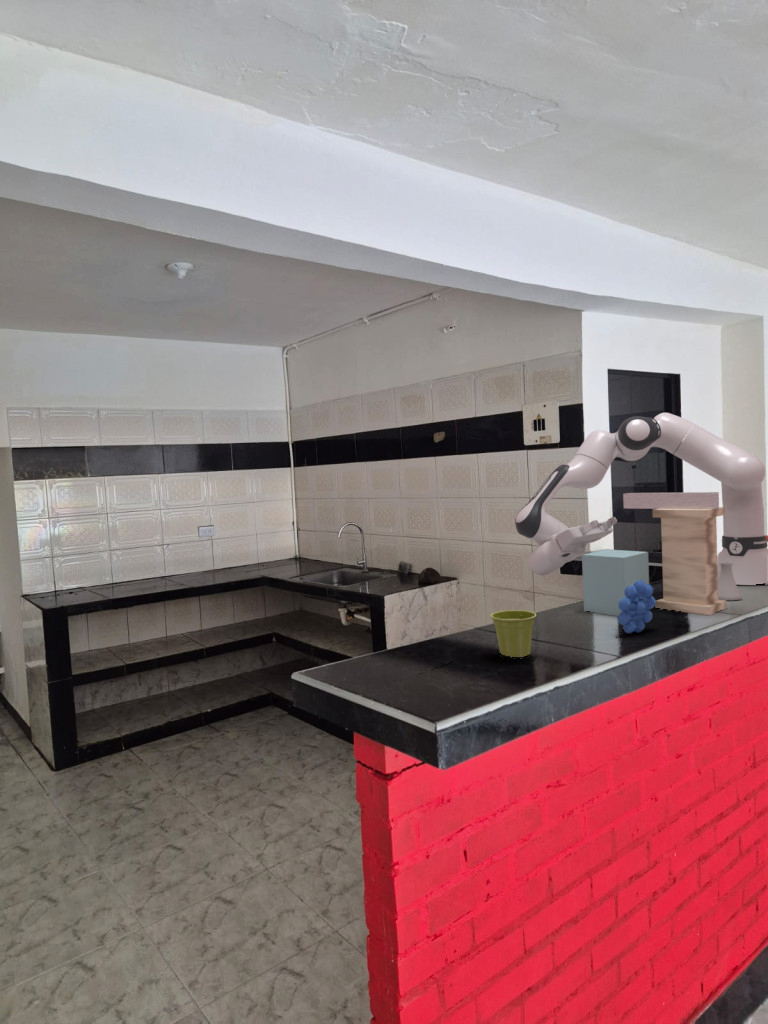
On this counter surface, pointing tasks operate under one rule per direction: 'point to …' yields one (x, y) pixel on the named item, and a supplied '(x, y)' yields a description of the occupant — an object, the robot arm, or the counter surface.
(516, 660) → the counter surface
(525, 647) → the plant pot
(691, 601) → the birch stand
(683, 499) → the pink bar
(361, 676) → the counter surface
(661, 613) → the counter surface
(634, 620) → the grapes
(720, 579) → the flask
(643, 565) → the block
